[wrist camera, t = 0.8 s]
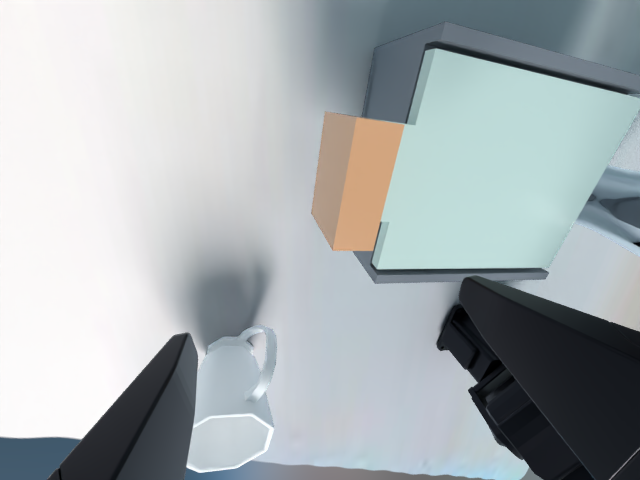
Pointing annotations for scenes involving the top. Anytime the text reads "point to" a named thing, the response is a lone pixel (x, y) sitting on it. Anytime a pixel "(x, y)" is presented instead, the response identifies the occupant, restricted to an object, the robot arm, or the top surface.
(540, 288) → the top surface
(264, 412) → the cup
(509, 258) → the lid
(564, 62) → the tub
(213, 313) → the top surface
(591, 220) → the beer glass
